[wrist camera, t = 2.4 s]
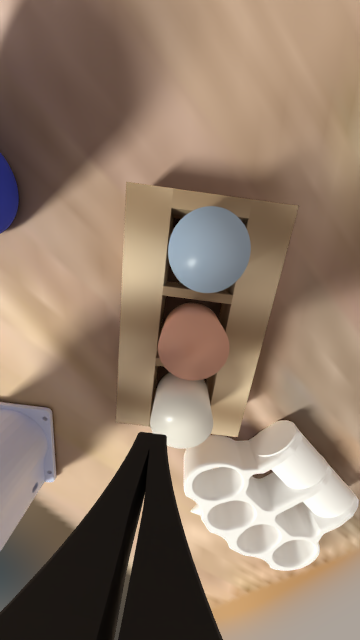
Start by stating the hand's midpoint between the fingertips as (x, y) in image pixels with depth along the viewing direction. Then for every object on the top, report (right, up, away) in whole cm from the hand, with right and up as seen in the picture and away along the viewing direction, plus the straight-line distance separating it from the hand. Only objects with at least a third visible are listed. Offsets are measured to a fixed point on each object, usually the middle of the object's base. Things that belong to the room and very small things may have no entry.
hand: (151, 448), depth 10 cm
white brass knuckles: (+10, -11, +13) cm, 20 cm away
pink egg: (+2, +6, +4) cm, 8 cm away
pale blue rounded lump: (+3, +11, +3) cm, 11 cm away
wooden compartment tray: (+2, +6, +7) cm, 10 cm away
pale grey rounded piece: (+2, +1, +6) cm, 6 cm away
